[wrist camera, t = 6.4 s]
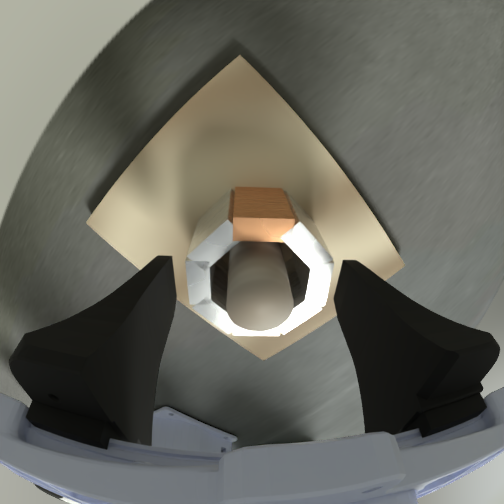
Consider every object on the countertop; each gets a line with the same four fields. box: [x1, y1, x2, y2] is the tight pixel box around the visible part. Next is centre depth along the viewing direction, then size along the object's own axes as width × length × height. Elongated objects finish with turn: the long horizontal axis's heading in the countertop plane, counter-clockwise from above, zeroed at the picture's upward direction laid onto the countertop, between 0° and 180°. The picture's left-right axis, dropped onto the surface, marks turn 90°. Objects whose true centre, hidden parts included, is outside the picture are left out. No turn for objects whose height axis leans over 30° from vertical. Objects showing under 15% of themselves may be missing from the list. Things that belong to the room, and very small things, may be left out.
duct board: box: [86, 55, 405, 361], centre depth 13 cm, size 14×11×6 cm
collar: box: [185, 187, 334, 336], centre depth 13 cm, size 6×6×4 cm
